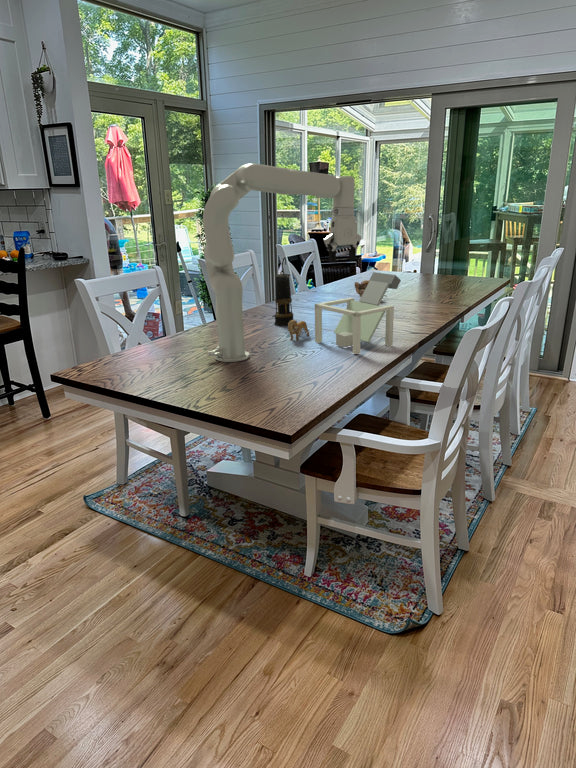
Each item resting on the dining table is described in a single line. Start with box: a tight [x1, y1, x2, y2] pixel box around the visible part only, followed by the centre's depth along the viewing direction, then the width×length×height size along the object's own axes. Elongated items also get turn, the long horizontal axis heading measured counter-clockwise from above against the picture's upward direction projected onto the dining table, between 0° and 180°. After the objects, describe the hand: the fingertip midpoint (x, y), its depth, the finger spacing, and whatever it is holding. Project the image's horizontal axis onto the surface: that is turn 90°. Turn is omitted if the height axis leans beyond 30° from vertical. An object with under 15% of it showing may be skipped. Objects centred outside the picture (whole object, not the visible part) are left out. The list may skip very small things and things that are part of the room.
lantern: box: [271, 257, 295, 327], centre depth 243 cm, size 9×9×30 cm
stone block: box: [335, 332, 353, 348], centre depth 209 cm, size 5×5×5 cm
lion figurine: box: [287, 319, 310, 342], centre depth 221 cm, size 15×5×9 cm, turn 155°
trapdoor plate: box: [333, 271, 402, 344], centre depth 212 cm, size 29×19×4 cm
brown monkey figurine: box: [354, 280, 388, 299], centre depth 292 cm, size 13×16×15 cm
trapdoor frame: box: [314, 297, 395, 355], centre depth 209 cm, size 19×24×16 cm
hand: (342, 260), depth 200 cm, fingers open, 9 cm apart
